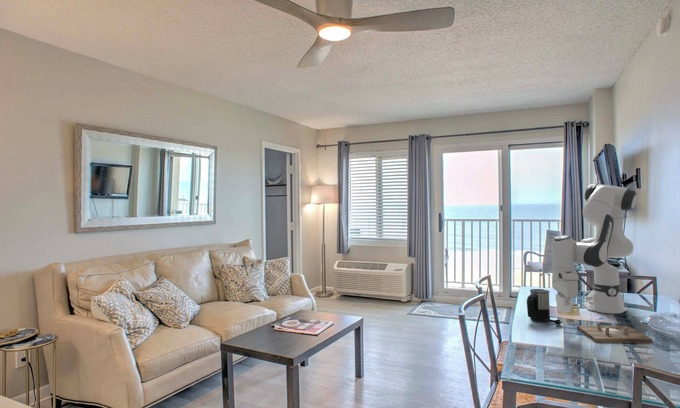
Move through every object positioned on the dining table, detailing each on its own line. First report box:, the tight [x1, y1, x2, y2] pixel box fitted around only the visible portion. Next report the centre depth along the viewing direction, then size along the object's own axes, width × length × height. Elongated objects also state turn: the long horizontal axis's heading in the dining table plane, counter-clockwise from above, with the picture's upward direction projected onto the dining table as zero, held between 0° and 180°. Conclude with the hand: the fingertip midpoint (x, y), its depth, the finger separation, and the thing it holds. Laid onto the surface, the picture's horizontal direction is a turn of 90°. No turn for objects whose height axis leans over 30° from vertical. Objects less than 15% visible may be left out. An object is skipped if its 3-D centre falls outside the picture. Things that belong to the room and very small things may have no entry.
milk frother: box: [526, 288, 564, 326], centre depth 205 cm, size 14×16×15 cm
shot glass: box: [554, 293, 574, 314], centre depth 185 cm, size 7×7×7 cm
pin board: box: [576, 321, 653, 344], centre depth 182 cm, size 18×22×5 cm
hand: (564, 303), depth 185 cm, fingers closed on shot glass, 5 cm apart
